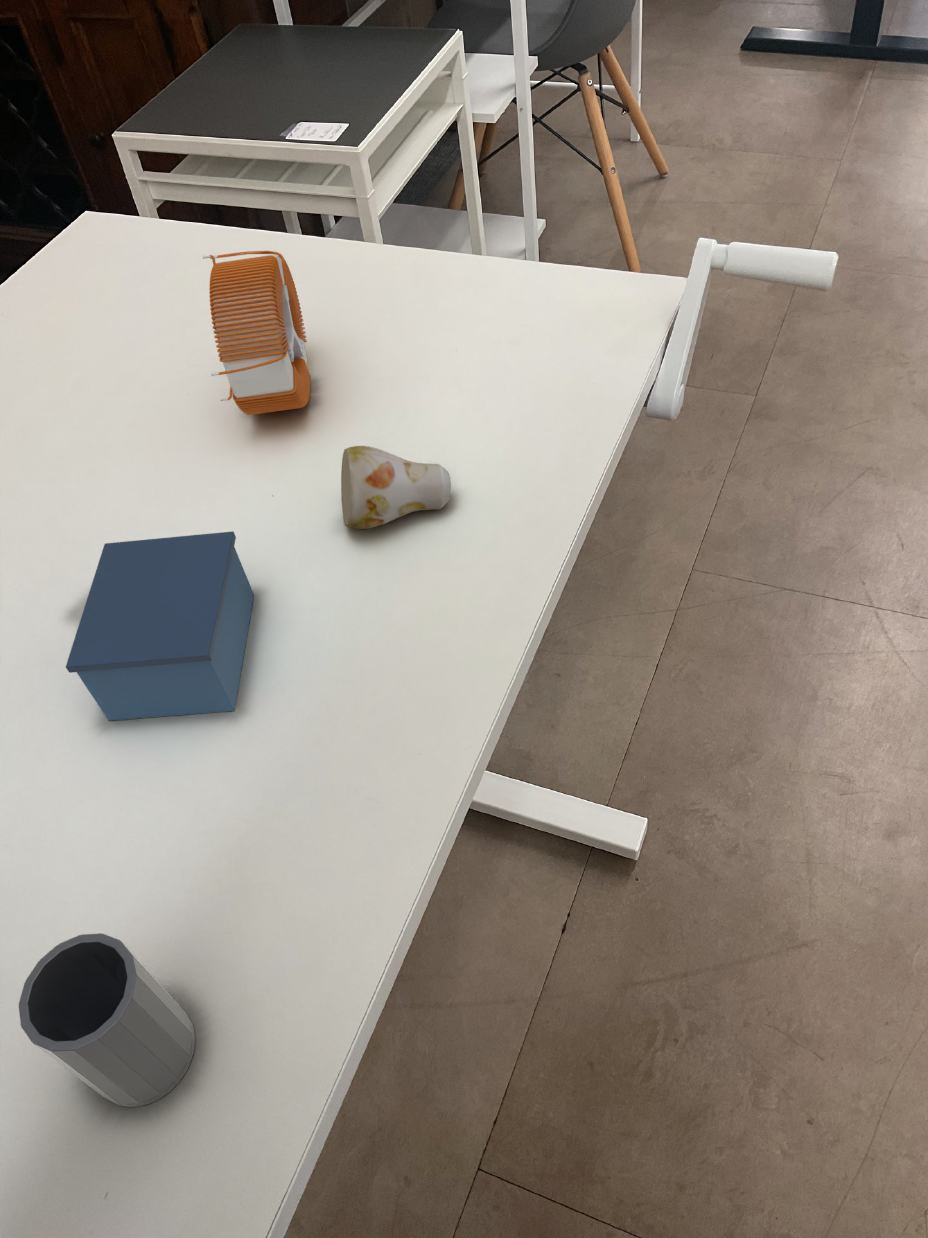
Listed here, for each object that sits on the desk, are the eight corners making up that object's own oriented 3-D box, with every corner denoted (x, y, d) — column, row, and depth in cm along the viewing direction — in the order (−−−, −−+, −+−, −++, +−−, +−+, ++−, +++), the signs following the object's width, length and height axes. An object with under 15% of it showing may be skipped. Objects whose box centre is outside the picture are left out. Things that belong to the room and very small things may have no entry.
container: (238, 714, 77) (209, 655, 71) (103, 724, 78) (65, 667, 72) (258, 592, 85) (233, 530, 80) (137, 602, 86) (104, 543, 80)
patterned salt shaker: (470, 523, 88) (404, 473, 80) (380, 565, 92) (309, 521, 84) (459, 454, 91) (395, 399, 83) (372, 497, 95) (303, 448, 87)
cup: (185, 1105, 58) (121, 1047, 51) (82, 1109, 59) (4, 1053, 51) (202, 997, 62) (145, 930, 55) (106, 1003, 63) (36, 937, 55)
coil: (314, 352, 107) (278, 220, 96) (309, 441, 98) (269, 306, 86) (250, 361, 108) (207, 230, 97) (239, 451, 98) (190, 317, 87)
